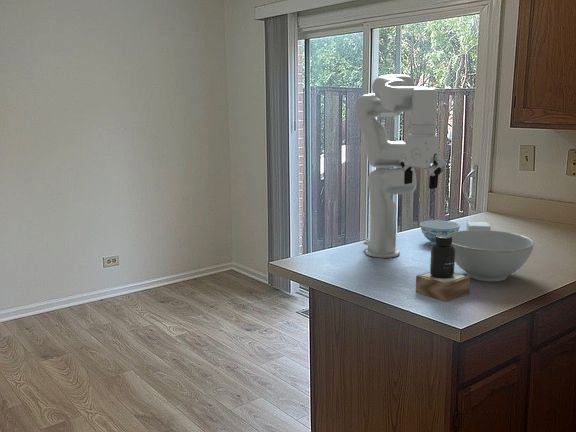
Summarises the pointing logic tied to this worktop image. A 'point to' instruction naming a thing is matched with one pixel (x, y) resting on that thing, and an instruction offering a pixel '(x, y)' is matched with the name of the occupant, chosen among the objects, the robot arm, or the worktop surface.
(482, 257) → the decorative bowl
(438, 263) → the supplement bottle
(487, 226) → the supplement box
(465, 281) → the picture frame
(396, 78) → the robot arm
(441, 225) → the chinaware
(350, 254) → the worktop surface
